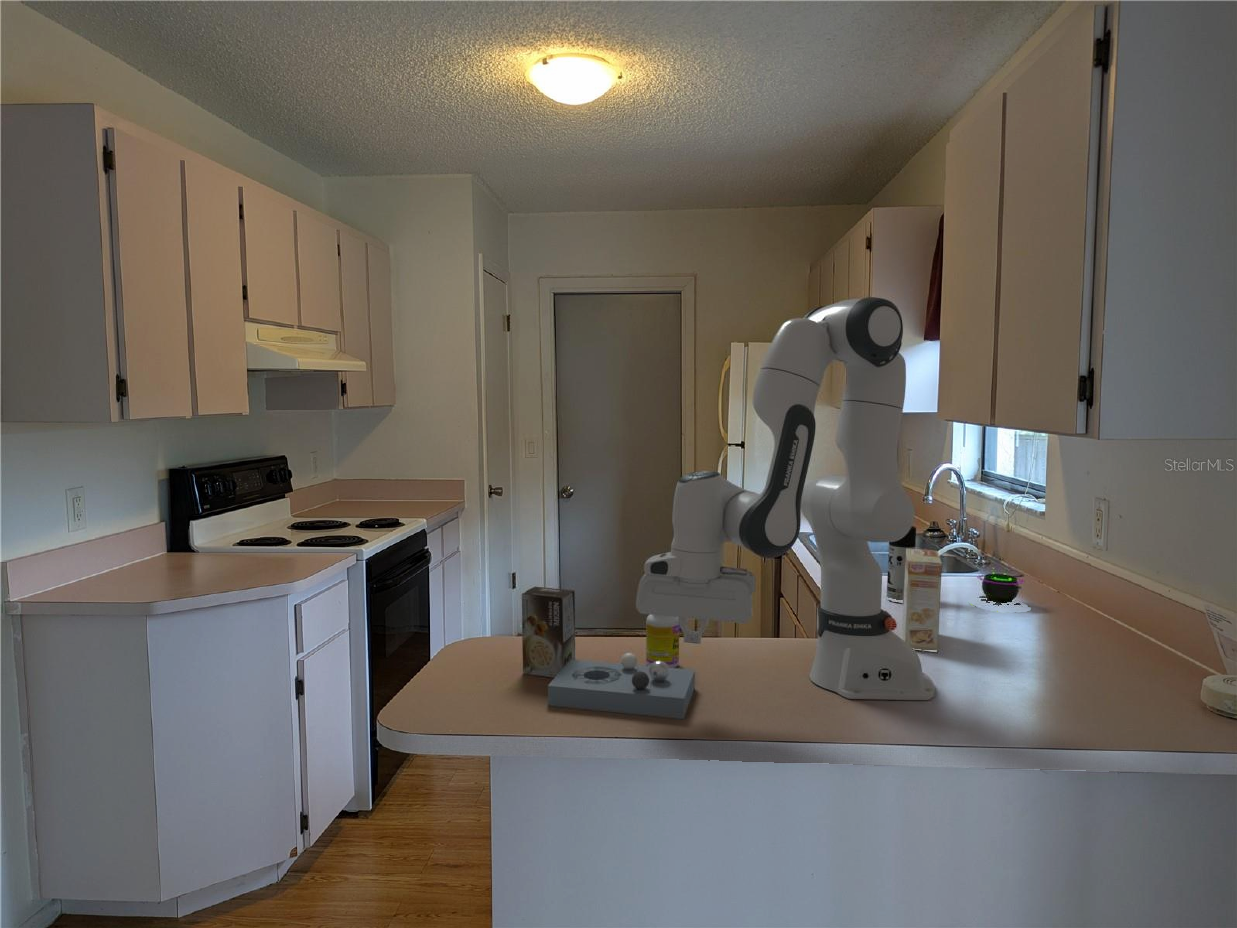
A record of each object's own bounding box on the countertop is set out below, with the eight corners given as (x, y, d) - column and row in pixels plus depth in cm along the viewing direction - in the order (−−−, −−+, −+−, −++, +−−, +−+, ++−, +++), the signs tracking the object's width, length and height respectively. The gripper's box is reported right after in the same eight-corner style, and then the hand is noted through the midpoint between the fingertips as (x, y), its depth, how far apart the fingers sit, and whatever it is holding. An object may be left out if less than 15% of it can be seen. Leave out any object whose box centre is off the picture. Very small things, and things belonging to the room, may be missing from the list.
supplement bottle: (676, 672, 153) (677, 608, 152) (643, 669, 154) (643, 606, 153) (680, 660, 160) (681, 599, 159) (648, 658, 161) (649, 597, 160)
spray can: (884, 596, 211) (887, 523, 209) (910, 597, 210) (913, 524, 208) (889, 603, 204) (892, 528, 203) (916, 604, 204) (919, 528, 202)
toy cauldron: (1045, 611, 198) (1047, 569, 197) (995, 615, 194) (997, 572, 193) (1003, 596, 212) (1005, 556, 211) (955, 599, 209) (957, 559, 208)
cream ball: (638, 666, 146) (638, 651, 145) (635, 672, 143) (635, 656, 143) (622, 665, 146) (622, 649, 146) (619, 670, 143) (619, 655, 143)
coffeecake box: (938, 653, 165) (943, 563, 163) (903, 649, 167) (906, 560, 166) (934, 633, 179) (938, 549, 177) (901, 629, 182) (905, 547, 180)
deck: (694, 688, 145) (694, 669, 144) (683, 719, 131) (684, 698, 131) (570, 677, 150) (570, 659, 150) (547, 705, 136) (547, 685, 136)
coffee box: (577, 669, 155) (577, 589, 153) (563, 680, 149) (563, 597, 147) (535, 663, 158) (535, 585, 156) (520, 673, 152) (520, 593, 150)
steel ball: (670, 677, 140) (670, 658, 140) (667, 685, 137) (667, 665, 136) (651, 676, 141) (651, 656, 141) (647, 683, 137) (647, 663, 137)
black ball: (650, 686, 136) (650, 669, 136) (647, 692, 133) (647, 675, 133) (633, 684, 137) (633, 668, 136) (630, 691, 134) (630, 674, 134)
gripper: (757, 565, 136) (753, 643, 137) (642, 556, 141) (639, 631, 142) (755, 573, 130) (751, 654, 131) (635, 563, 134) (632, 641, 136)
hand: (692, 642), depth 136 cm, fingers closed
